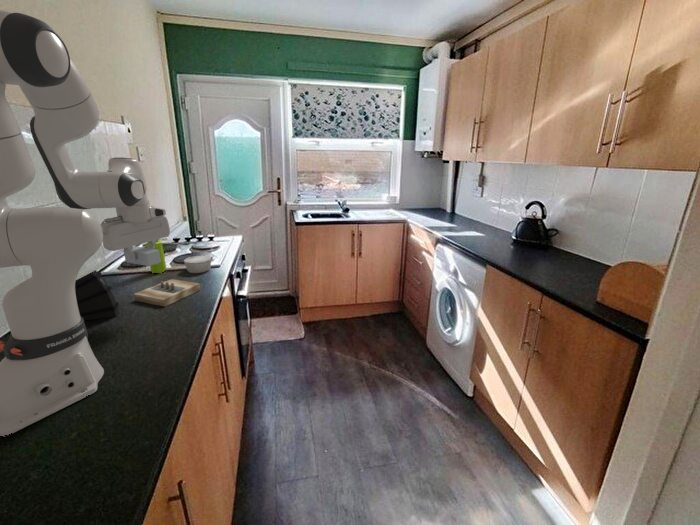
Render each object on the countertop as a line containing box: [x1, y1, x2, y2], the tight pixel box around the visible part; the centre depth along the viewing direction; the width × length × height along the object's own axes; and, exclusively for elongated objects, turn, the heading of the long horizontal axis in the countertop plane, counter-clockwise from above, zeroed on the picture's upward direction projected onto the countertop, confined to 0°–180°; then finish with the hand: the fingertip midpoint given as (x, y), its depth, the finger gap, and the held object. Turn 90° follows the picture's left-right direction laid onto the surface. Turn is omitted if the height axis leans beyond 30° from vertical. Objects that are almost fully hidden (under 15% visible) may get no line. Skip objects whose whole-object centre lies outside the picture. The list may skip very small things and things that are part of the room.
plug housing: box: [122, 245, 161, 267], centre depth 107 cm, size 10×4×4 cm, turn 69°
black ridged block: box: [75, 269, 120, 321], centre depth 105 cm, size 4×13×15 cm, turn 107°
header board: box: [133, 278, 202, 307], centre depth 123 cm, size 16×14×5 cm
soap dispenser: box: [145, 239, 167, 274], centre depth 145 cm, size 6×7×20 cm
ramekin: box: [183, 255, 212, 274], centre depth 150 cm, size 11×11×5 cm
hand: (142, 256), depth 107 cm, fingers closed on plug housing, 4 cm apart
